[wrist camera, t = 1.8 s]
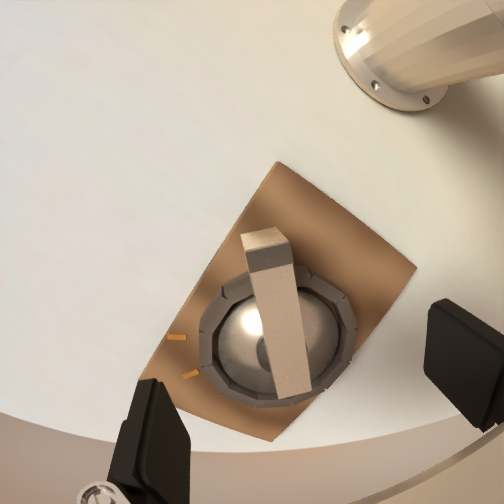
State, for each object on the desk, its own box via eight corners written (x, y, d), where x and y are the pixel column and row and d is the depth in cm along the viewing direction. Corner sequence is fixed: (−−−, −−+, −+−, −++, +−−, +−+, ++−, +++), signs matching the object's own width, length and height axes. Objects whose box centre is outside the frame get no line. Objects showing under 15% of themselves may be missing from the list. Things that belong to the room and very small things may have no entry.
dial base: (274, 161, 24) (284, 160, 20) (408, 262, 28) (430, 275, 24) (137, 378, 28) (130, 402, 24) (269, 433, 32) (274, 456, 28)
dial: (335, 366, 28) (362, 412, 21) (233, 392, 27) (238, 444, 21) (317, 209, 24) (352, 226, 17) (188, 238, 23) (177, 266, 17)
